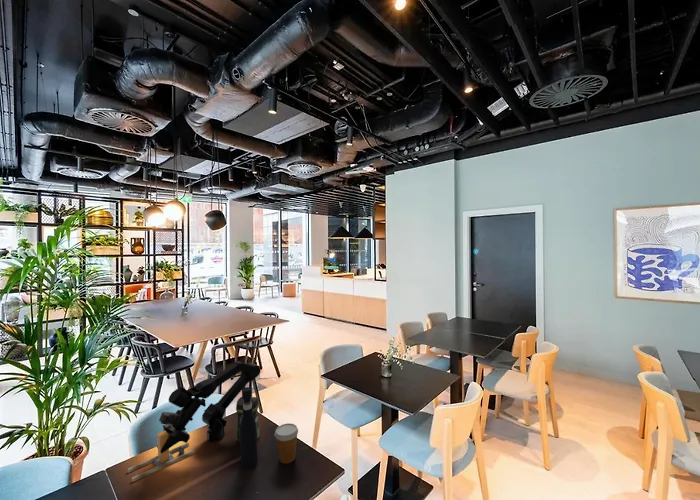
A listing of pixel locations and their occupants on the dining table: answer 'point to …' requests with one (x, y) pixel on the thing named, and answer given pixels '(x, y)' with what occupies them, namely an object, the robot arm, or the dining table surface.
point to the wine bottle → (248, 432)
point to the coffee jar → (240, 413)
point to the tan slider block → (161, 441)
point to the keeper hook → (181, 450)
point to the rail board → (159, 465)
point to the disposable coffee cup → (286, 442)
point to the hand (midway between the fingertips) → (159, 450)
